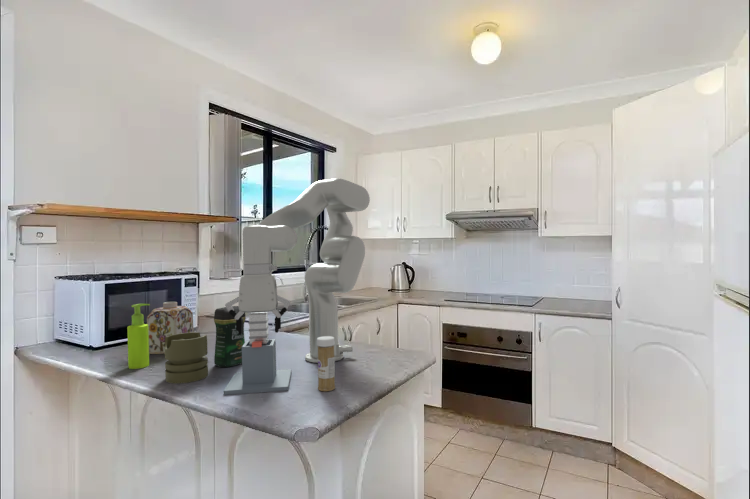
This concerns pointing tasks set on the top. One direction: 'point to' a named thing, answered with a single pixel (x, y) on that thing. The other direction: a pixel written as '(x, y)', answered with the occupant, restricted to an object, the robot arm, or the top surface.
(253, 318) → the column
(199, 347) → the piston
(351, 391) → the top surface
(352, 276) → the robot arm
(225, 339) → the coffee jar
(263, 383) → the stand
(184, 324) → the decorative jar
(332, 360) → the sprinkles bottle
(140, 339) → the soap dispenser
